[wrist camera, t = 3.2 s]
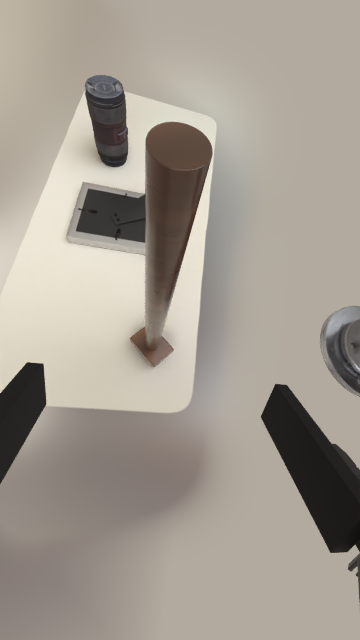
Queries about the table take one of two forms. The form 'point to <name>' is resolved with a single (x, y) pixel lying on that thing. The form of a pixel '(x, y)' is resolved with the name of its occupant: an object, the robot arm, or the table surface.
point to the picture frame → (109, 219)
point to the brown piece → (168, 222)
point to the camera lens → (108, 118)
